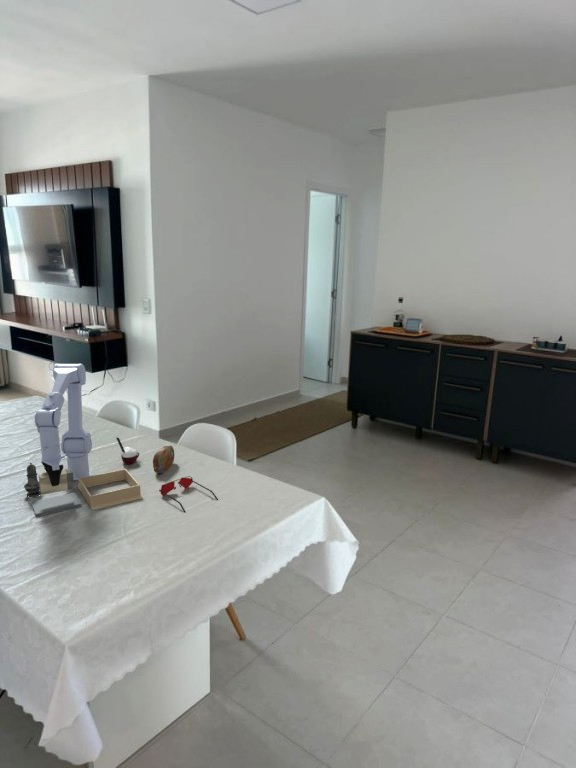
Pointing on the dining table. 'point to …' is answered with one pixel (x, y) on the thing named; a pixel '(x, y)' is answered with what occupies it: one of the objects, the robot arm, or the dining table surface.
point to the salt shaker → (32, 482)
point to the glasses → (183, 482)
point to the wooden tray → (111, 496)
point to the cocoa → (128, 454)
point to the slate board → (55, 504)
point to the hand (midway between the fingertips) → (54, 482)
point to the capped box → (64, 483)
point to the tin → (163, 459)
